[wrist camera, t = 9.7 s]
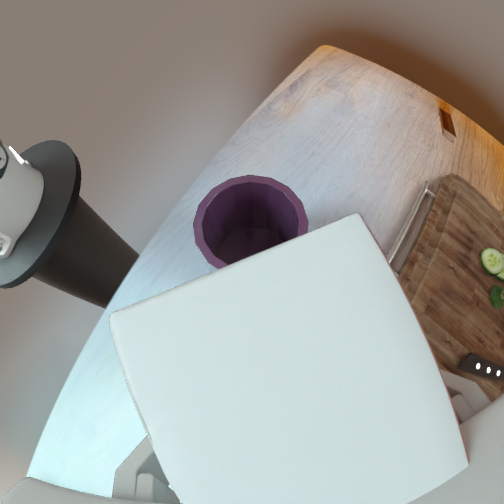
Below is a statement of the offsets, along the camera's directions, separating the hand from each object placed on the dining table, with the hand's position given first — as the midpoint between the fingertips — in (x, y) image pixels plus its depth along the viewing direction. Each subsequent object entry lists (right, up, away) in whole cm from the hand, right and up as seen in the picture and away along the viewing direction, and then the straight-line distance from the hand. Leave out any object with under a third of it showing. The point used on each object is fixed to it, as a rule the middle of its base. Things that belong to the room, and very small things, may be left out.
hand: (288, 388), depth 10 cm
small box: (+1, -3, +7) cm, 8 cm away
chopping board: (+34, -5, +16) cm, 38 cm away
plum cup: (-1, +4, +20) cm, 20 cm away
